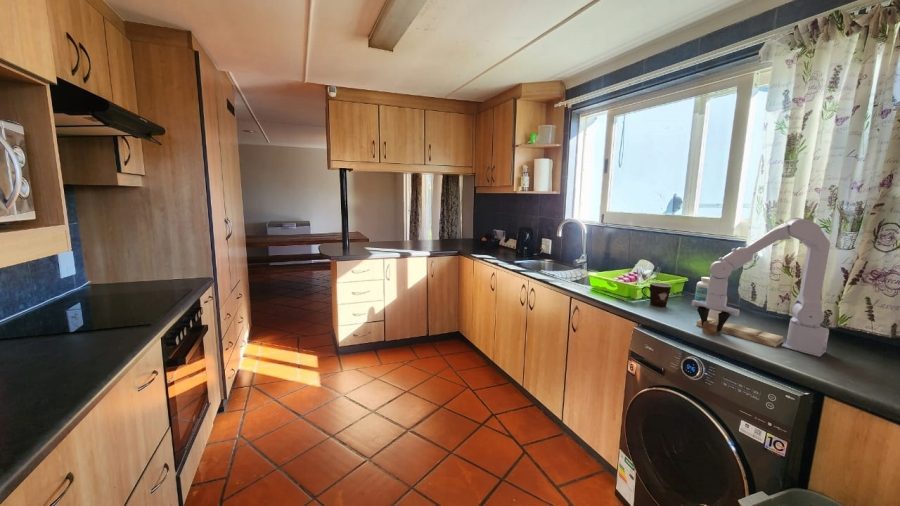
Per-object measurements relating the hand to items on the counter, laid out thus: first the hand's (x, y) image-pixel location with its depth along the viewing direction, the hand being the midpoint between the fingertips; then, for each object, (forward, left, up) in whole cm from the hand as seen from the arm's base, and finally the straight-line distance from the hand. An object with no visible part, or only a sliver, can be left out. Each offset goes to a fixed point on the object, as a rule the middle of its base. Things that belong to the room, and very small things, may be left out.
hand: (711, 328), depth 135 cm
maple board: (-6, -8, -1) cm, 10 cm away
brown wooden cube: (0, 0, -2) cm, 2 cm away
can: (+5, -18, -2) cm, 18 cm away
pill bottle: (+16, -37, -2) cm, 40 cm away
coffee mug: (+29, -18, -2) cm, 34 cm away
